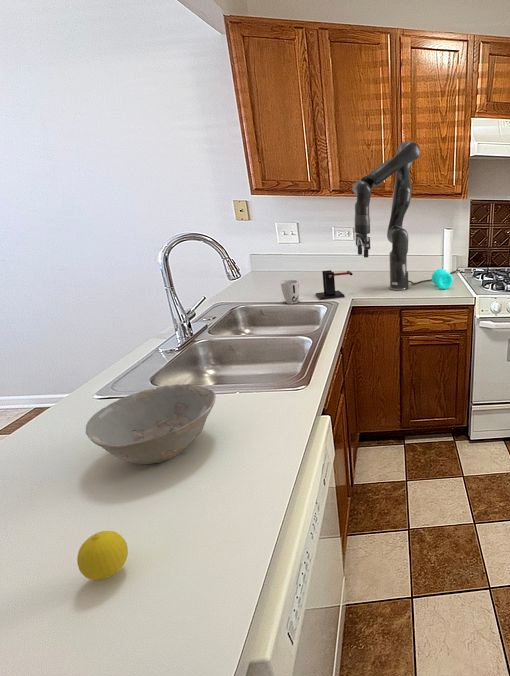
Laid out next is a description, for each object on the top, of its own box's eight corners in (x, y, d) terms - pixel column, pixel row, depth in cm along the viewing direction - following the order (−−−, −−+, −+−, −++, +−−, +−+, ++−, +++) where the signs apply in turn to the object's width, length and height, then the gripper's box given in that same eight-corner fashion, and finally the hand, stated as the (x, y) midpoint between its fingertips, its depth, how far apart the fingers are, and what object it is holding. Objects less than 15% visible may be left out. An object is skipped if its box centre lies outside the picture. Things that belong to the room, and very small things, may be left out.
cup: (294, 305, 186) (292, 284, 182) (279, 303, 187) (276, 283, 184) (304, 300, 193) (302, 280, 190) (289, 299, 195) (286, 279, 191)
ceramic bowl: (74, 496, 74) (57, 452, 71) (128, 426, 95) (117, 389, 91) (207, 475, 80) (198, 434, 77) (231, 414, 101) (224, 379, 97)
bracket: (338, 292, 208) (337, 268, 204) (344, 297, 201) (342, 272, 197) (315, 295, 202) (313, 270, 198) (320, 300, 195) (318, 274, 190)
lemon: (82, 577, 59) (65, 537, 57) (126, 552, 64) (113, 513, 61) (92, 600, 56) (75, 559, 54) (138, 572, 60) (125, 532, 58)
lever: (349, 274, 206) (349, 269, 205) (352, 276, 202) (352, 271, 201) (324, 276, 199) (323, 272, 199) (327, 278, 195) (326, 274, 195)
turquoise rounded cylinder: (436, 290, 219) (436, 272, 215) (431, 285, 227) (431, 268, 224) (453, 289, 222) (453, 271, 218) (447, 284, 231) (447, 267, 227)
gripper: (374, 225, 194) (375, 258, 200) (364, 222, 206) (364, 253, 211) (360, 225, 190) (361, 258, 196) (350, 222, 202) (351, 254, 207)
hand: (363, 255), depth 204 cm, fingers open, 8 cm apart
